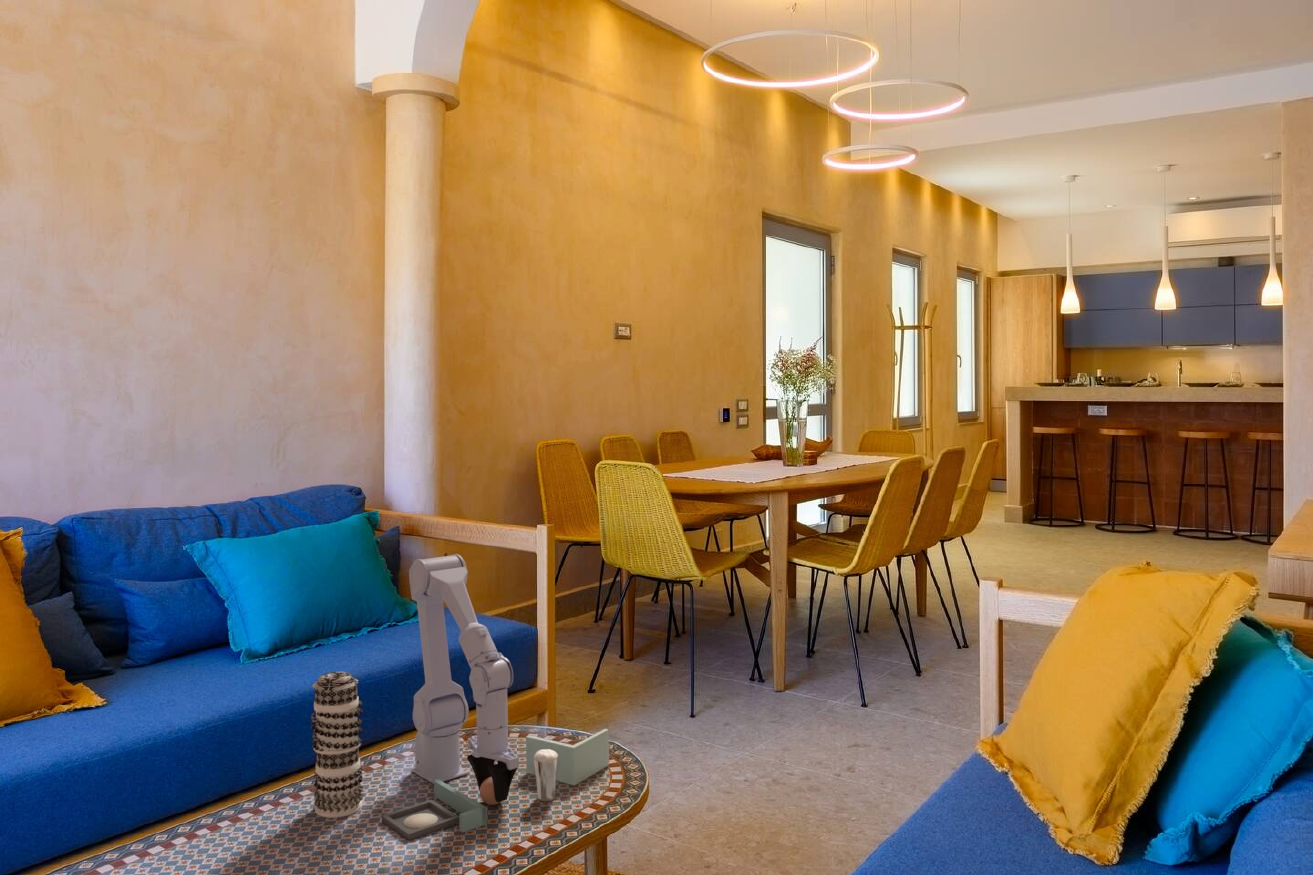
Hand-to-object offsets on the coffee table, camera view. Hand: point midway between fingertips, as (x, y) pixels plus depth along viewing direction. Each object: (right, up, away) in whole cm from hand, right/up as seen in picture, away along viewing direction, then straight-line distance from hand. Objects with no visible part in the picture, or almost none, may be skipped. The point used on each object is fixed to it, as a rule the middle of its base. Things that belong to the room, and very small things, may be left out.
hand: (493, 795), depth 185 cm
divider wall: (-7, -2, -4) cm, 8 cm away
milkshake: (+10, -2, +2) cm, 10 cm away
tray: (-12, -2, -8) cm, 14 cm away
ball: (0, -2, 0) cm, 2 cm away
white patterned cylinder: (-28, -2, -1) cm, 28 cm away
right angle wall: (+12, -1, +17) cm, 21 cm away
